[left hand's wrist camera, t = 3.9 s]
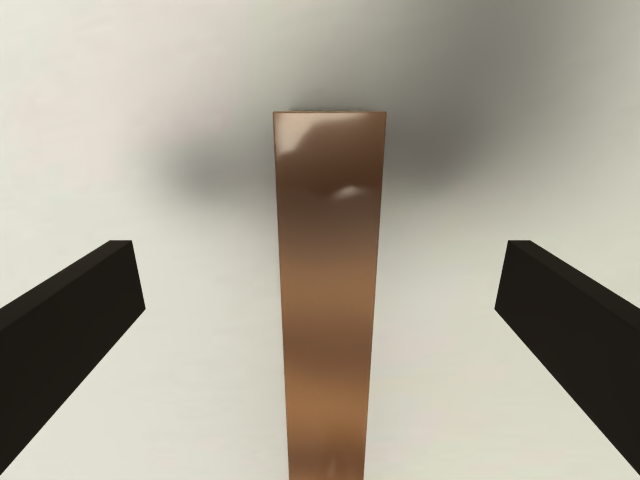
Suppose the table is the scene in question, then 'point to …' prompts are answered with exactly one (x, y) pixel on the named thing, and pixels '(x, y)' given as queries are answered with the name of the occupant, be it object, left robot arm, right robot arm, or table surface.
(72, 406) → the table surface
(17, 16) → the table surface
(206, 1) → the table surface
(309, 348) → the bar
